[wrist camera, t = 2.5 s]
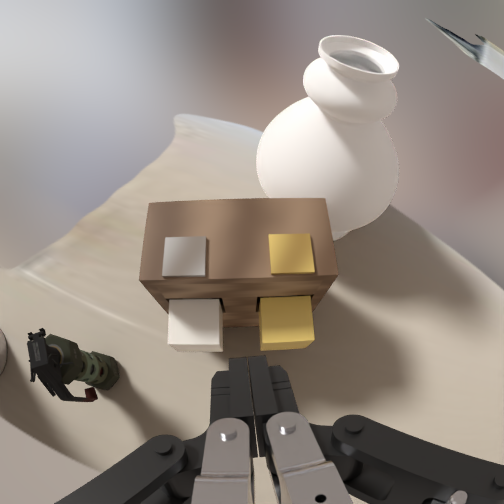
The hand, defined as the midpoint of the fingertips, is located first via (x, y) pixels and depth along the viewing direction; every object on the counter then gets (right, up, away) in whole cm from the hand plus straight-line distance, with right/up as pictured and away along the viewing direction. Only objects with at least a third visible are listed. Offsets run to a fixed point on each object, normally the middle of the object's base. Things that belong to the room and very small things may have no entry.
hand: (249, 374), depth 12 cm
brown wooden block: (-1, -1, +27) cm, 27 cm away
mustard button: (+3, -2, +19) cm, 19 cm away
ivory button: (-5, -2, +18) cm, 19 cm away
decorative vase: (+9, +12, +33) cm, 36 cm away
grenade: (-18, -11, +22) cm, 30 cm away
